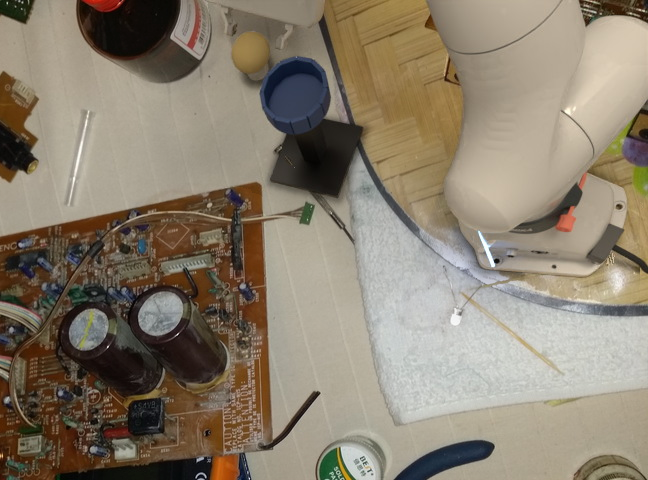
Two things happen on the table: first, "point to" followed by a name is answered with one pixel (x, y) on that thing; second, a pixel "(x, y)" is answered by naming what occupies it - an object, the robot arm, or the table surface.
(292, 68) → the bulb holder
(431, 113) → the table surface
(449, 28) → the robot arm
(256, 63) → the light bulb
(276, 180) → the stand
